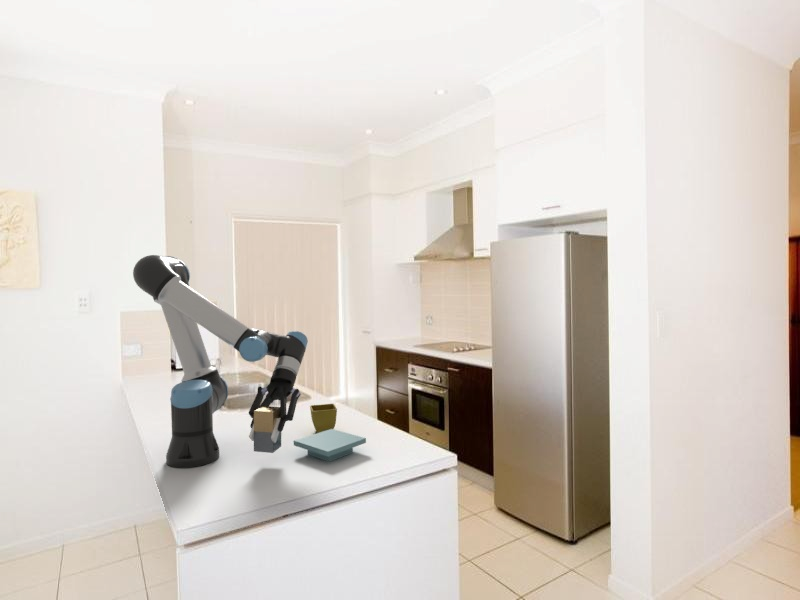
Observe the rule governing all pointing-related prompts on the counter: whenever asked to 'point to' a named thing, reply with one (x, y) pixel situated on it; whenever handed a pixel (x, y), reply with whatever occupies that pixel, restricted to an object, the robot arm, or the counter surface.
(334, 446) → the teal stand
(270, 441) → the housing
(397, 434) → the counter surface
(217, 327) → the robot arm
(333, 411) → the flower pot
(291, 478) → the counter surface
